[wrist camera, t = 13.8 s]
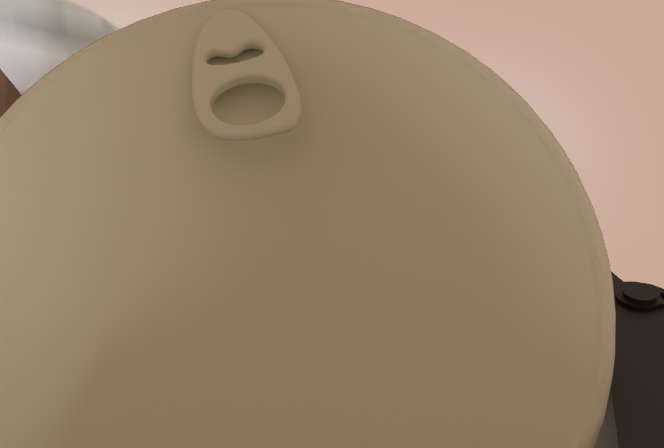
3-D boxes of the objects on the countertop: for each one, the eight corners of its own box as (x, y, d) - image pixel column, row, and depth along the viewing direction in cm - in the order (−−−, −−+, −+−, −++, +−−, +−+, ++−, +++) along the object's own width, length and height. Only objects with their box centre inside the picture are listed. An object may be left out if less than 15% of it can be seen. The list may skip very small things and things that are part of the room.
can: (399, 214, 20) (501, -74, 9) (480, 496, 17) (789, 578, 6) (134, 266, 19) (-109, 15, 8) (166, 575, 16) (-166, 852, 5)
